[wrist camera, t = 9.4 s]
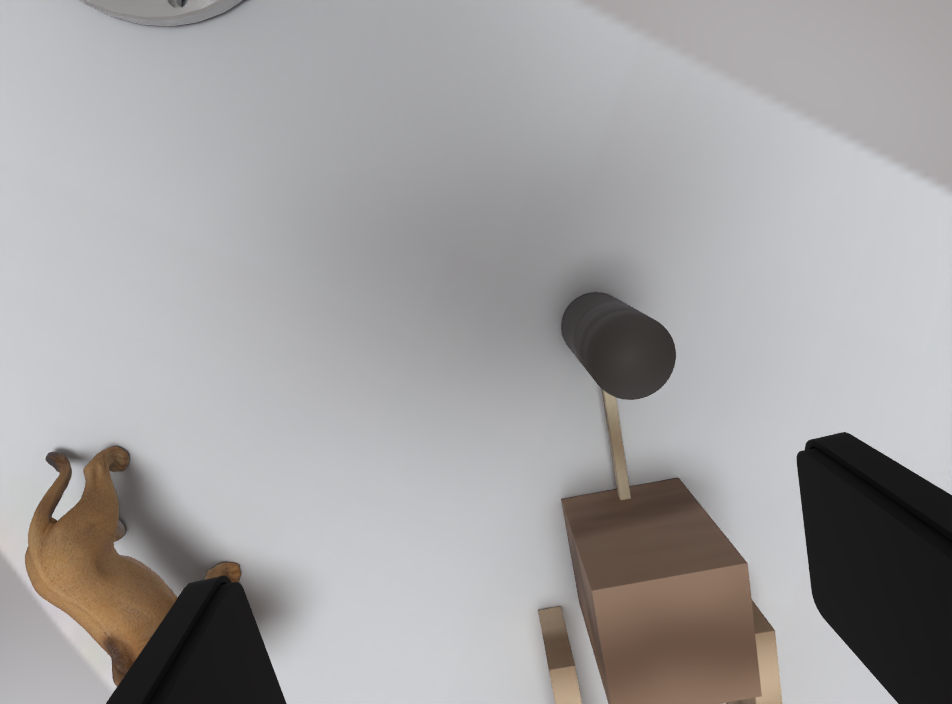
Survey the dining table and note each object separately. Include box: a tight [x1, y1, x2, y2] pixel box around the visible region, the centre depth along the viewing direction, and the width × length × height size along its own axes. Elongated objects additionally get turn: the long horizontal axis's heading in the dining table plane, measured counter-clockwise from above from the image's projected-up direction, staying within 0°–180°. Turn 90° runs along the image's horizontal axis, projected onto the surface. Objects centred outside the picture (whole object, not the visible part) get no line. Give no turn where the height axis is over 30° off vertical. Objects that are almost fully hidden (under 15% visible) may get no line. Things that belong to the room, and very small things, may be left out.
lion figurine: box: [25, 447, 241, 687], centre depth 28 cm, size 15×5×9 cm, turn 46°
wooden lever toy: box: [561, 292, 762, 704], centre depth 28 cm, size 16×6×8 cm, turn 11°
